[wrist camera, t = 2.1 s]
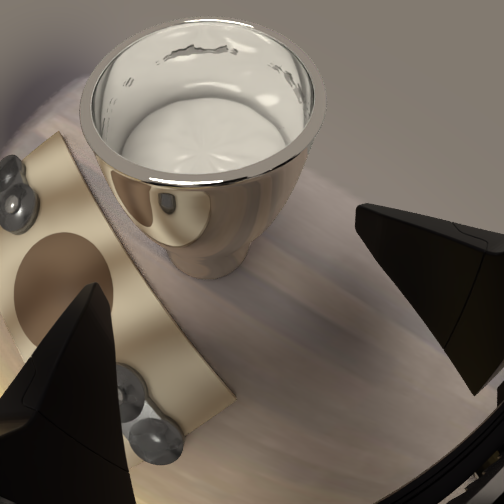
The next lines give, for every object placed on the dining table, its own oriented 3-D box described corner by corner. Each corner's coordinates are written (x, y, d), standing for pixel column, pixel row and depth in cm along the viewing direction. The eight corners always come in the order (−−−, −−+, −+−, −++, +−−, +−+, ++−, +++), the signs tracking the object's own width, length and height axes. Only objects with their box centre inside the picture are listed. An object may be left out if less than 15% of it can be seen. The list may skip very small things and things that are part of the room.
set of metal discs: (197, 440, 17) (196, 451, 15) (155, 466, 16) (150, 478, 14) (23, 152, 19) (14, 142, 18) (-7, 179, 19) (-17, 171, 17)
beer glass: (248, 294, 20) (332, 225, 6) (149, 276, 20) (29, 178, 5) (262, 201, 22) (332, 35, 8) (171, 185, 21) (132, 10, 7)
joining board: (235, 396, 19) (236, 400, 18) (114, 473, 16) (110, 479, 15) (62, 136, 21) (58, 130, 20) (-25, 215, 18) (-31, 212, 17)
